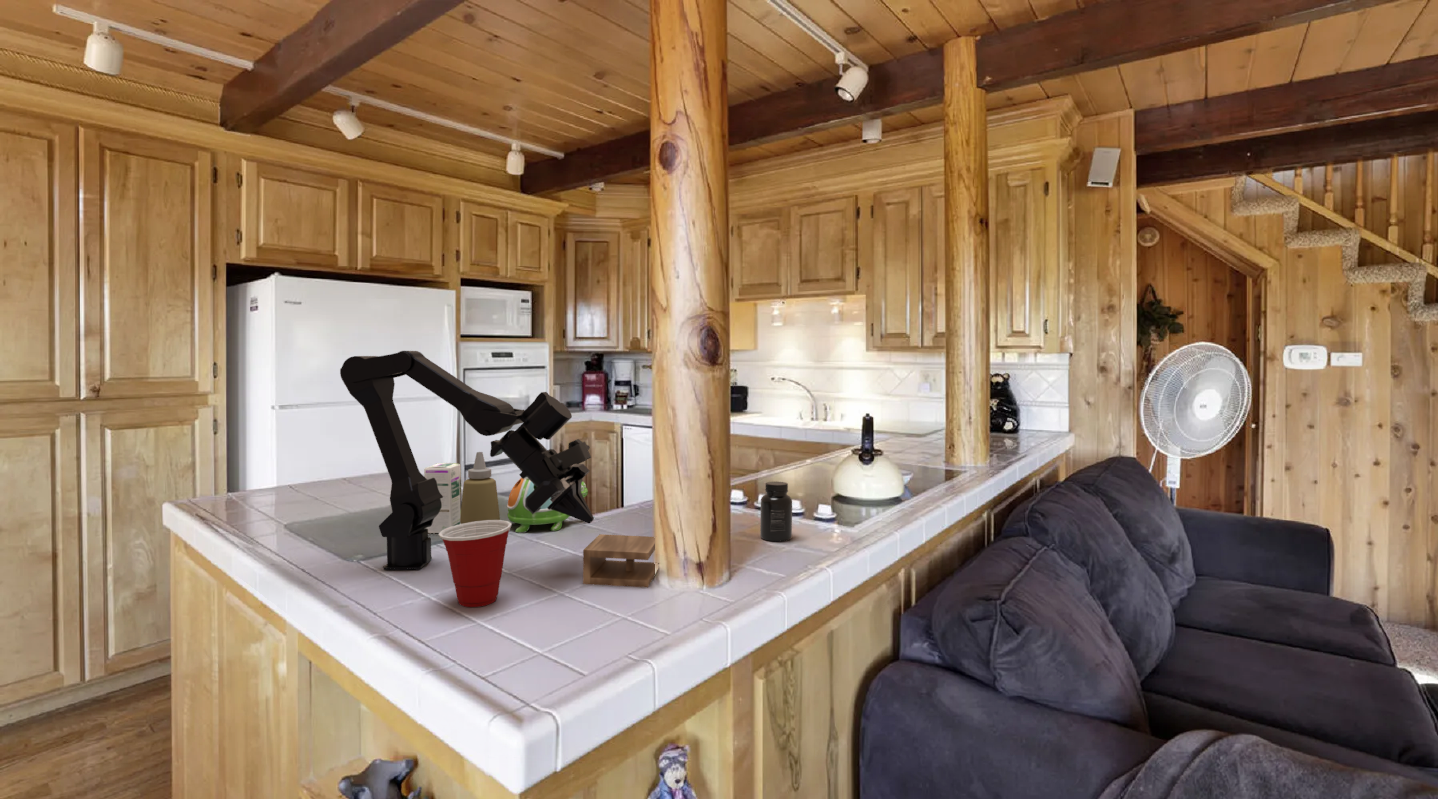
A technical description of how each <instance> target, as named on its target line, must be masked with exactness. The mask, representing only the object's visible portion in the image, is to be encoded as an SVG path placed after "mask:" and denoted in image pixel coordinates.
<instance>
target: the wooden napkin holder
mask: <svg viewBox="0 0 1438 799" xmlns="http://www.w3.org/2000/svg"><path fill="white" fill-rule="evenodd" d="M654 537H655V536H643V535H624V534H623V535H622V534H620V535H619V534H603V533H602V534H600V533H599V535H597V536H596V537H595V538H593V540H592V541H591V542H590V543H589V544H588V545H587V546H586V547H585V548H584V549H583V551H582V555H583V557H582V562H583V563H582V564H583V565H582V569H583V570H582V574H583V575H582V579H583V580H582V584H583V585H593V584H594V586H595V585H597V586H612V587H613V586H614V587H615V586H616V587H633V588H636V587H637V588H648V587H649V586H650V584H651V583H652V581H653V580H654V578H655V576H656V575H655V564H654V562H651V561H648V560H649V559H650V558H651V556H652V555H653V553H654V552H655V550H656V549H655V538H654ZM607 559H608V560H607ZM609 559H610V560H609ZM611 559H612V560H611ZM614 559H621V560H614ZM622 559H623V560H622ZM635 560H637V561H635ZM640 560H642V561H640ZM643 560H644V561H643ZM654 575H655V576H654Z"/></svg>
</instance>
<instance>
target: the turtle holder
mask: <svg viewBox="0 0 1438 799" xmlns="http://www.w3.org/2000/svg"><path fill="white" fill-rule="evenodd" d="M536 488H537V487H536V486H535V485H534V484H533V483H532V482H531V481H530V480H529V479H528V478H527V477H526V478H524V479H523V478H522V477H521V476H520V478H519V479H518V480H517V481H516V483H514V485H513V486H512V488H511V490H510V493H509V495H508V500H507V504H506V508H507V511H508V513H507V519H508V521H509V522H510V523H515V524H520V525H519V527H517V528H516V529H515V530H514V531H515V532H516V533H526V532H528V530H529V529H530V527H531V526H532V525H534V526H536V525H537V526H538V525H547V524H548V525H549V524H552V525H551V527H550V531H551V532H556V531H560V530H561V528H562V526H563V521H565V520H567V519H568V518H570V517H571V516H569V515H566V514H563V513H560V512H558V511H555V510H552V509H550V510H549V509H547V507H548V506H549V505H550V504H551V503H552V502H551V500H550V499H551V497H550V498H549V499H548V500H547V501H546V502H545V503H544V504H543V505H542V506H541V509H540V510H539V511H538V512H536V513H534V514H532V513H531V512H530V511H529V510H528V509H527V508H526V507H525V499H526V498H527V497H528V496H529V495H530V494H531V493H532V492H533V491H534V490H535V489H536ZM588 492H589V491H588V487H587V485H586V483H585V481H582V484H581V493H582V495H583V497H584V498H585V497H587V495H588ZM571 518H572V517H571Z"/></svg>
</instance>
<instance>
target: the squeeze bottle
mask: <svg viewBox="0 0 1438 799" xmlns="http://www.w3.org/2000/svg"><path fill="white" fill-rule="evenodd" d="M467 477H468V479H465V480H464V481H463V486H462V494H461V500H462V505H461V515H460V523H461V524H464V523H469V522H475V521H485V520H501V517H500V516H501V514H500V507H499V506H500V505H499V498H498V497H499V496H498V488H497V481H496V480H495V479H494V478H492V468H490V467H487V466H486V461H485V457H484V453H483V451H477V452H476V455H475V458H474V463H473V468H469V469H468V470H467Z"/></svg>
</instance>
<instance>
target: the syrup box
mask: <svg viewBox="0 0 1438 799" xmlns="http://www.w3.org/2000/svg"><path fill="white" fill-rule="evenodd" d="M461 470H462V469H461V464H460V463H458V462H457V463H454V462H441V463H434V464H433V465H429V466H427V467H425V468H423V471H424V473H423V476H424V477H425V478H426V479H427V480H428V479H431V478H435V480H436V481H437V486H438V490H439V492H440V494H441V495H442V496H443V498H441V503H442V508H441V509H440V512H439V514H438V515H437V516H436V517H435V518H434V520H433V523H432V526H430V527H427V528H425V529H428V534H431V533H440V532H441V531H442V530H444V529H447V528H449V527H452V526H456V525H459V524H461V523H460V515H461V505H462V477H461V476H462V475H461V474H462V472H461Z"/></svg>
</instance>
